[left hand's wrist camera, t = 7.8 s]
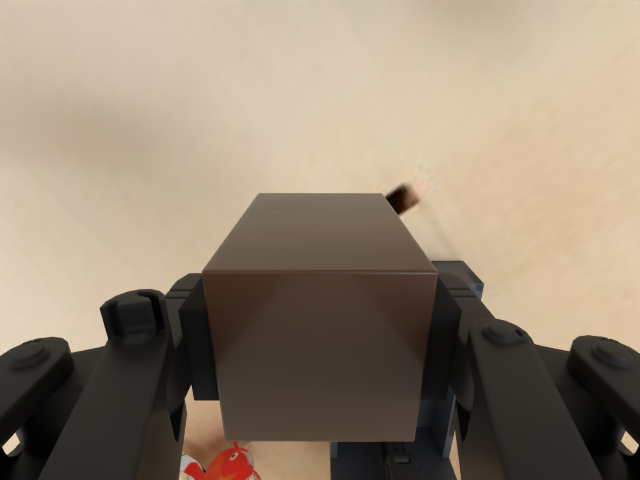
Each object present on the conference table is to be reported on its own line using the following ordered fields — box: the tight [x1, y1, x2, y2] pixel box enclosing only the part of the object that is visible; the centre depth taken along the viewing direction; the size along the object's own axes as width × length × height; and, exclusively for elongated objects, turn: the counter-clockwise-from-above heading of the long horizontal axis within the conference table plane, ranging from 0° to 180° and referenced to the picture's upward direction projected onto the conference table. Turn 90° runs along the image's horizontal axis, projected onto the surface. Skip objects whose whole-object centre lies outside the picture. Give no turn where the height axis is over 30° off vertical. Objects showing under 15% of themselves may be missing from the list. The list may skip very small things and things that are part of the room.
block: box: [202, 193, 438, 442], centre depth 11 cm, size 5×5×7 cm
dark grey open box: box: [330, 261, 484, 480], centre depth 35 cm, size 24×14×10 cm, turn 0°
